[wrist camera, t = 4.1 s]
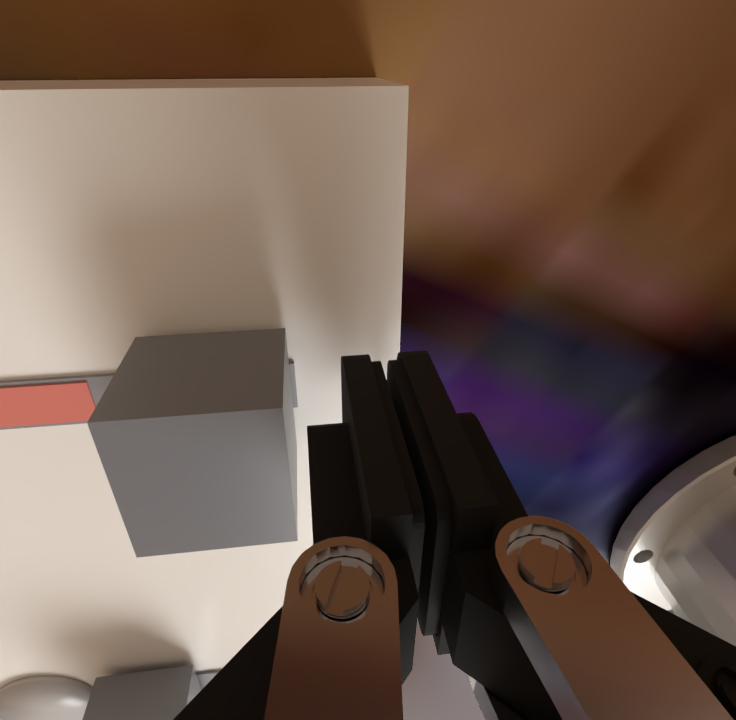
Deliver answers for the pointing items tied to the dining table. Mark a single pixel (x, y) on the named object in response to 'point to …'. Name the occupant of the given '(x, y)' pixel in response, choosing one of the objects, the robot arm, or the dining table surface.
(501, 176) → the dining table surface
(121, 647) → the switch panel
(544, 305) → the dining table surface
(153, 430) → the front switch
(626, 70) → the dining table surface
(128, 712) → the back switch
